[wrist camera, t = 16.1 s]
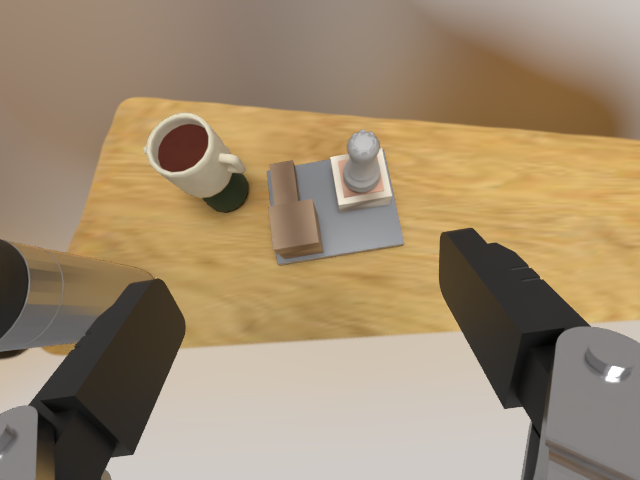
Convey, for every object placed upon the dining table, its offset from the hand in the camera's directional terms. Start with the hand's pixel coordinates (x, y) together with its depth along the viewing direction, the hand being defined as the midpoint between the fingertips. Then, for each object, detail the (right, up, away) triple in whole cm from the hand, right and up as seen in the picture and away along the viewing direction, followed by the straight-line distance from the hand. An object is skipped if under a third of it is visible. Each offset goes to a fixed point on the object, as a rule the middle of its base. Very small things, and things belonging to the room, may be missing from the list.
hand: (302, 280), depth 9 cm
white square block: (+6, +8, +32) cm, 33 cm away
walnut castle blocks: (-2, +5, +32) cm, 32 cm away
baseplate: (+2, +5, +33) cm, 33 cm away
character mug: (-12, +8, +35) cm, 38 cm away
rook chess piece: (+5, +9, +29) cm, 31 cm away
